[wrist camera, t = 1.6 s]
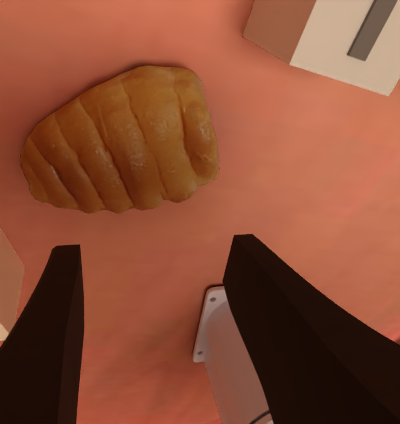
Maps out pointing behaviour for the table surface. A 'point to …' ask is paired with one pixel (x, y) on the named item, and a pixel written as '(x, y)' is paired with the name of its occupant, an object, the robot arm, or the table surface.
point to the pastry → (125, 144)
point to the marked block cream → (9, 285)
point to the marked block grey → (332, 38)
